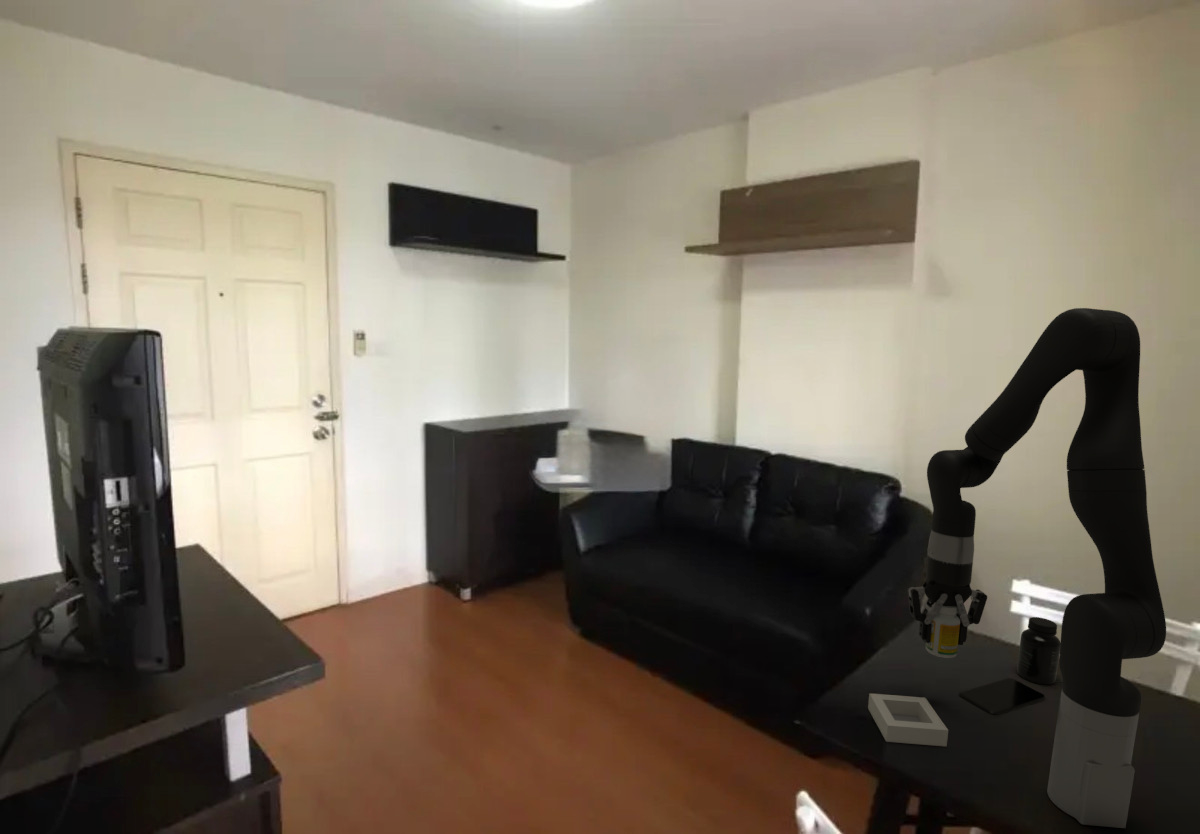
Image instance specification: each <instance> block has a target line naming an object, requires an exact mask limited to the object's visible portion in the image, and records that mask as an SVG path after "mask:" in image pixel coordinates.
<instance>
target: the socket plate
mask: <svg viewBox="0 0 1200 834" xmlns="http://www.w3.org/2000/svg"><path fill="white" fill-rule="evenodd" d="M868 695H869V696H868V703H867V704H868V705H867V709H868V711H869V713H870V714H871V715H870V716H871V717H872V718H873V721H874V722H875V724H876V726H877V727H878V729H879V731H880V733H881V735H882V737H883V738H884V740H885V742H886V743H897V744H900V743H901V744H912V745H923V746H924V745H925V746H934V747H935V746H936V747H946V748H947V747H948V746H947V744H948V738H949V729H948V728H947V726H946V725H945V723H944V722H943V721H942V719H941V718H940V716H939V715H938V714H937V712H936V711H935V709H934V708H933V707H932V705H931V704H930V702H929V701H928V699H927V698H926V697H924V696H923V697H921V696H920V697H919V696H910V695H909V696H907V695H895V694H892V695H891V694H882V693H869V694H868Z"/></svg>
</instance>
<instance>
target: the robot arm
mask: <svg viewBox="0 0 1200 834" xmlns="http://www.w3.org/2000/svg"><path fill="white" fill-rule="evenodd" d="M1140 337H1141V336H1140V332H1139V329H1138V326H1137V325H1136V323H1135V321H1134V320H1133V319H1132V318H1131V317H1130V316H1128V314H1125V313H1123V312H1121V311H1116V310H1111V309H1110V310H1109V309H1098V308H1090V307H1089V308H1087V307H1080V308H1079V307H1076V308H1072V309H1071V308H1070V309H1067V310H1065V311H1063V312H1061V313H1059V314H1058V315H1057V316H1056V317H1055V318H1053V319H1052V321H1050V322H1049V324H1048V325H1047V326H1046V328H1045V329H1044V330H1043V331H1042V333H1041V335H1040V336H1039V337H1038V339H1037V341H1036V342H1035V344H1034V345H1033V347H1032V348H1031V350H1030V351H1029V353H1028V354H1027V356H1026V358H1025V359H1024V360H1023V362H1022V363H1021V364H1020V366H1019V368H1018V369H1017V371H1015V373H1014V375H1013V376H1012V378H1011V379H1010V381H1009V382H1008V384H1007V385H1006V386H1005V388H1004V389H1003V391H1002V392H1001V393H1000V394H999V395H998V396H997V397H996V399H995V400H994V401H993V402H992V403H991V404H990V405H989V407H988V408H986V410H984V411H983V413H982V414H981V415H980V416H979V417H977V419H976V420H975V421H974V422H973V423H972V424H971V425H970V427H968V429H967V430H966V432H965V435H964V441H965V444H966V447H965V448H964V449H944V450H939V451H937V452H936V453H934V454H933V455H932V456H931V457H930V459H929V461H928V464H927V468H926V480H927V483H928V488H929V489H928V490H929V492H930V493H929V495H930V500H931V503H932V517H931V520H932V521H931V528H930V530H931V531H930V534H929V539H928V546H927V556H926V557H927V559H926V568H925V581H924V582H923V584H922V586H916V587H914V586H913V585H908V586H907V587H906V590H907V591H906V592H907V598H908V599H907V600H908V601H907V602H908V608H909V614H910V615H911V617H912V618H914V619H915V621H918V622H919V629H918V635H919V637H920V638H921V640H922V641H923V642H924V643H925V644H926V643H930V636H931V624H930V623H931V621H932V620H933V618H934V616H935V615H937V614H938V612H939V610H940V608H941V607H942V606H954V607H957V609H958V610H957V611H958V612H957V614H956V615H957V616H958V617H959V619H960V630H959V640H958V646H963V645H964V643H966V641H967V637H968V636H967V635H968V628H969V626H971V625H974V624H975V625H978V624H980V622H981V619H982V617H983V612H984V610H985V607H986V603H987V601H988V595H987V594H986V593H984V592H983V591H982V590H981V589H972V587H971V582H972V575H973V564H974V563H973V562H974V553H975V539H974V538H975V527H976V517H977V512H976V508H975V506H974V505H973V504H972V503H971V502H969V501H967V500H963V498H962V493H961V489H965V488H967V489H968V488H969V489H970V488H975V487H979V486H981V485H982V484H984V483H986V482H987V481H988V480H989V479H990V478H991V477H992V476H993V474H994V473H995V471H996V470H997V468H998V466H999V464H1000V463H1001V461H1002V458H1003V456H1004V455H1005V454H1006V453H1007V452H1009V451H1010V450H1011V449H1012V448H1013V447H1014V446H1015V445H1016V444H1017V443H1018V442H1019V441H1020V440H1021V439H1022V438H1023V437H1024V436H1025V435H1026V434H1027V433H1029V430H1030V429H1031V428H1032V426H1033V425H1034V423H1035V421H1036V419H1037V417H1038V414H1039V413H1040V408H1041V405H1042V403H1043V401H1044V400H1045V397H1047V395H1048V394H1049V392H1050V391H1051V390H1052V389H1053V388H1054V387H1055V386H1056V385H1057V384H1059V383H1060V382H1061V381H1062V380H1064V379H1065V378H1066V377H1069V375H1070V374H1072V373H1073V372H1075V371H1082V374H1083V380H1084V382H1083V383H1084V393H1085V400H1084V402H1085V403H1084V410H1083V414H1082V416H1081V420H1080V422H1079V424H1078V426H1077V429H1076V430H1075V433H1074V436H1073V438H1072V440H1071V443H1070V445H1069V448H1068V452H1067V456H1066V476H1067V487H1068V489H1067V490H1068V496H1069V499H1068V500H1069V502H1070V503H1069V504H1070V505H1071V508H1072V510H1073V512H1074V514H1075V516H1076V517H1077V518H1078V520H1079V522H1080V523H1081V525H1082V527H1083V528H1084V530H1085V531H1086V532H1087V535H1088V536H1089V537H1090V539H1091V540H1092V541H1093V543H1094V545H1095V546H1096V549H1097V551H1098V553H1099V555H1100V559H1101V564H1102V568H1103V569H1102V570H1103V576H1104V592H1100V593H1098V592H1097V593H1084V594H1079V595H1076V596H1074V597H1073V598H1072V599H1070V601H1068V603H1067V604H1066V606H1065V609H1064V613H1063V616H1062V621H1061V631H1060V633H1061V634H1060V654H1059V661H1058V666H1059V670H1060V674H1061V678H1062V685H1061V686H1062V687H1061V691H1060V692H1061V693H1060V699H1059V706H1058V712H1057V713H1058V714H1057V719H1056V724H1055V725H1056V727H1055V731H1054V732H1055V733H1054V740H1053V741H1054V742H1053V746H1052V752H1051V753H1052V754H1051V755H1052V756H1051V759H1050V768H1049V769H1050V770H1049V776H1048V783H1047V788H1046V789H1047V790H1046V792H1047V796H1048V798H1049V799H1050V800H1051V802H1052V803H1053V804H1054V805H1055V806H1056V807H1057V808H1058V809H1060V811H1063V812H1064V813H1065V814H1067V815H1069V816H1071V817H1073V818H1074V819H1075V820H1077V822H1078V823H1079V824H1080V825H1084V826H1093V827H1094V826H1096V827H1106V828H1107V827H1108V828H1114V829H1115V828H1116V829H1119V828H1120V829H1126V827H1127V826H1126V825H1127V821H1128V815H1129V809H1130V803H1131V802H1130V801H1131V796H1132V791H1133V786H1134V785H1133V784H1134V777H1135V772H1136V771H1135V768H1134V766H1132V758H1133V752H1134V748H1135V747H1134V746H1135V740H1136V735H1137V729H1138V724H1139V716H1140V710H1141V704H1142V694H1141V691H1140V690H1139V689H1138V687H1137V686H1136V685H1135V684H1134V683H1132V682H1131V681H1130V680H1128V679H1126V678H1124V677H1122V676H1121V675H1122V664H1123V663H1122V662H1123V660H1129V659H1130V660H1133V659H1141V658H1148V657H1152V656H1155V655H1156V654H1158V653H1159V652H1160V651H1161V650H1162V648H1163V647H1164V645H1165V643H1166V639H1167V622H1166V615H1165V611H1164V610H1165V609H1164V606H1163V601H1162V596H1161V591H1160V587H1159V582H1158V578H1157V573H1156V567H1155V563H1154V557H1153V549H1152V547H1153V546H1152V539H1151V531H1150V523H1149V513H1148V501H1147V499H1148V498H1147V497H1148V496H1147V482H1146V470H1145V464H1144V463H1145V461H1144V455H1143V446H1142V428H1141V417H1140V404H1139V403H1140V402H1139V392H1140V391H1139V389H1140V387H1139V385H1140V384H1139V383H1140V370H1141V369H1140V364H1141V338H1140ZM924 594H925V596H926V597H927V598H926V600H925V602H924V603H923V608H922V610H921V603H920V602H921V601H920V600H922V597H923V595H924ZM969 599H970V600H971V602H970V605H969V608H968V611H967V609H966V607H965V603H966V602H967V600H969Z"/></svg>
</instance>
